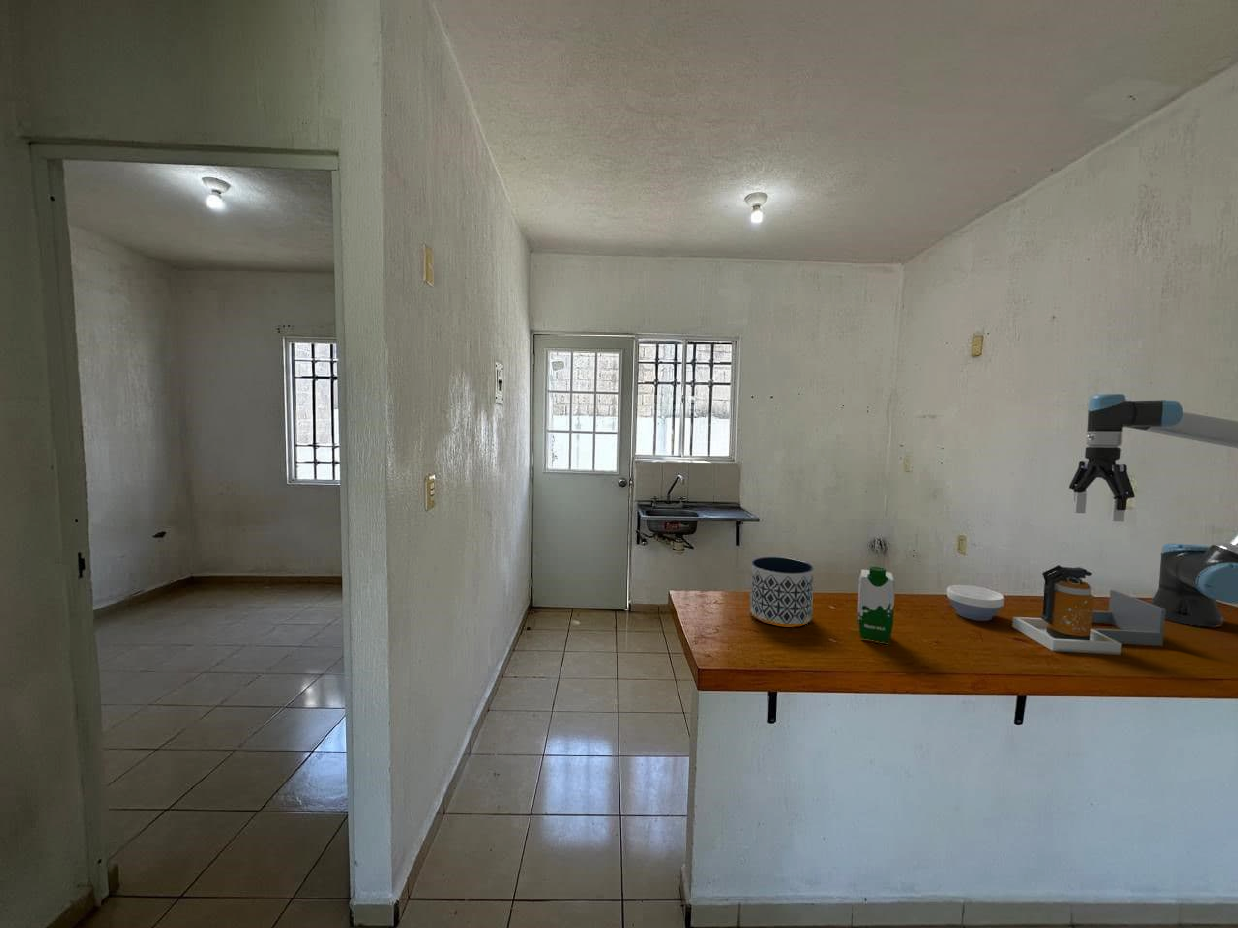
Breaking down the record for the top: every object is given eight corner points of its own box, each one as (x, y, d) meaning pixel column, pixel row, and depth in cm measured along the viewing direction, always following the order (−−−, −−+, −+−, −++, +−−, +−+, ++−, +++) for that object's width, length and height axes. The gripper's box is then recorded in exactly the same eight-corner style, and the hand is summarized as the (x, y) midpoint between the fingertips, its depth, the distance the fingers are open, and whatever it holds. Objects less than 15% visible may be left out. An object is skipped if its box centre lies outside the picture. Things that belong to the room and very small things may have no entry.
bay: (1111, 622, 149) (1114, 590, 149) (1162, 645, 134) (1165, 609, 133) (1053, 619, 151) (1055, 587, 151) (1096, 642, 136) (1099, 606, 135)
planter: (769, 602, 165) (770, 553, 164) (822, 617, 152) (824, 565, 151) (738, 616, 153) (739, 563, 152) (793, 634, 140) (795, 577, 139)
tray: (1072, 629, 144) (1073, 619, 144) (1120, 654, 128) (1121, 643, 128) (1012, 626, 146) (1012, 616, 146) (1052, 650, 130) (1053, 639, 130)
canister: (1098, 646, 132) (1104, 572, 130) (1050, 642, 134) (1056, 569, 132) (1074, 632, 140) (1080, 563, 139) (1030, 629, 143) (1035, 561, 141)
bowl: (951, 620, 150) (953, 596, 150) (941, 604, 164) (942, 582, 163) (1010, 628, 145) (1012, 603, 144) (994, 611, 158) (995, 588, 158)
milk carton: (856, 640, 136) (859, 569, 134) (856, 628, 144) (859, 561, 142) (893, 646, 132) (896, 573, 130) (890, 634, 140) (894, 564, 139)
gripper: (1057, 444, 161) (1053, 509, 162) (1126, 448, 136) (1119, 524, 138) (1083, 445, 160) (1078, 510, 161) (1157, 448, 135) (1150, 525, 137)
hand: (1097, 517), depth 150 cm, fingers open, 13 cm apart
